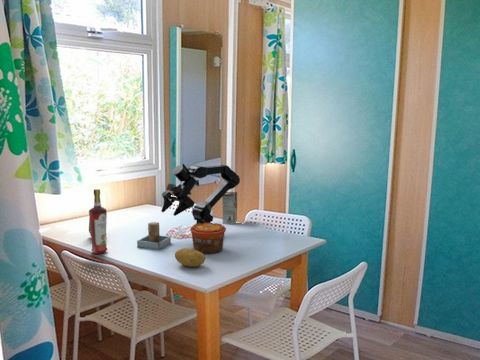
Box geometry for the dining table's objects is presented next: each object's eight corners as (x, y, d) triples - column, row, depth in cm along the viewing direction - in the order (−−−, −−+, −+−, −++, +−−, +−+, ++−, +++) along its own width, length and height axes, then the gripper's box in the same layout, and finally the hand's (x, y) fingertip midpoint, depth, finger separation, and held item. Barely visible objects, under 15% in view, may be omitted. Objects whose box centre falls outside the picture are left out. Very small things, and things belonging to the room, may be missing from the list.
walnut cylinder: (160, 241, 227) (159, 222, 226) (159, 245, 222) (158, 224, 221) (149, 242, 227) (148, 222, 225) (148, 245, 222) (147, 225, 220)
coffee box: (226, 219, 273) (226, 191, 270) (237, 220, 271) (237, 191, 269) (222, 223, 264) (222, 194, 261) (233, 224, 262) (233, 195, 260)
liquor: (101, 248, 218) (99, 187, 214) (111, 252, 214) (109, 189, 209) (87, 252, 213) (84, 189, 208) (97, 256, 208) (94, 191, 204)
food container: (212, 257, 207) (212, 233, 206) (182, 251, 216) (182, 227, 214) (232, 248, 221) (233, 225, 219) (204, 242, 229) (204, 220, 227)
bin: (170, 242, 228) (170, 236, 228) (159, 249, 218) (159, 243, 217) (149, 240, 232) (149, 234, 231) (137, 247, 221) (137, 240, 221)
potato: (192, 272, 190) (192, 255, 189) (170, 265, 198) (169, 249, 197) (208, 266, 197) (208, 249, 196) (186, 259, 205) (186, 243, 204)
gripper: (164, 174, 235) (145, 200, 230) (189, 179, 222) (169, 206, 217) (177, 188, 242) (159, 214, 236) (202, 194, 229) (184, 220, 223)
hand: (167, 213), depth 228 cm, fingers open, 9 cm apart
